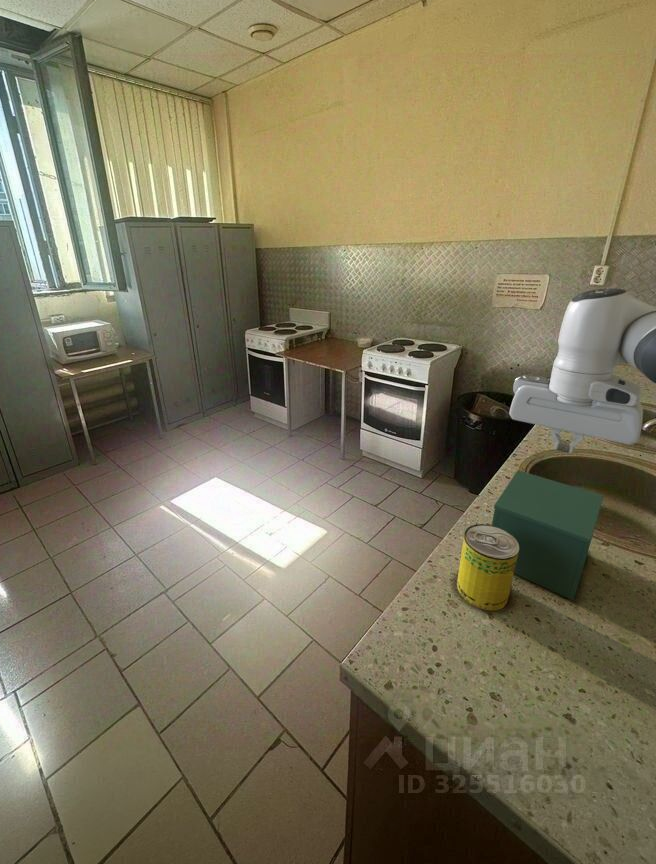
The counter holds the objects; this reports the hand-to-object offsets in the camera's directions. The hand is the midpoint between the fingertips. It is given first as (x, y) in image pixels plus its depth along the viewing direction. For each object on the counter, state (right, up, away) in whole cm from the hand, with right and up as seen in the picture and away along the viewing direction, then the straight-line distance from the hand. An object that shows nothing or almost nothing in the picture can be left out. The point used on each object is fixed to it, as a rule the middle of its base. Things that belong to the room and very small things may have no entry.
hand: (563, 450), depth 76 cm
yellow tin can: (-16, -27, 0) cm, 31 cm away
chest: (-1, -24, +8) cm, 25 cm away
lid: (-1, -11, +2) cm, 11 cm away
